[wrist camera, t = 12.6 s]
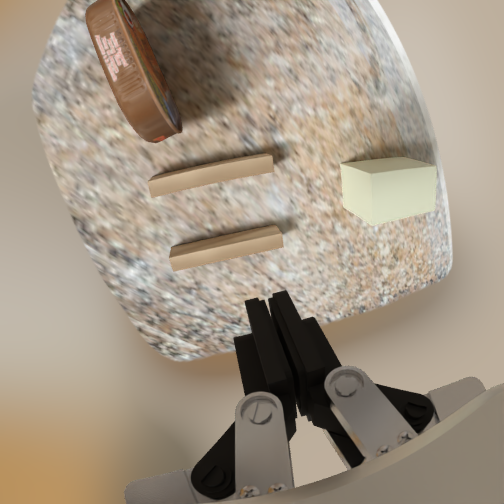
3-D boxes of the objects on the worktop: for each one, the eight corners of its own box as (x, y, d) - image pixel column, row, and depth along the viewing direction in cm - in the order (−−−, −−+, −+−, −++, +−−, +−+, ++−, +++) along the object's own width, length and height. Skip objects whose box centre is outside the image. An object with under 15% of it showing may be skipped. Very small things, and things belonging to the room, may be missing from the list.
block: (339, 163, 27) (370, 173, 21) (402, 156, 28) (436, 165, 22) (342, 207, 29) (371, 225, 24) (402, 195, 30) (434, 210, 24)
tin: (187, 130, 23) (181, 130, 15) (157, 145, 23) (137, 153, 15) (134, 9, 16) (112, -28, 8) (105, 24, 16) (74, -7, 8)
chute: (152, 176, 24) (147, 181, 22) (265, 153, 25) (272, 155, 23) (175, 259, 28) (173, 271, 26) (277, 237, 29) (283, 247, 27)
